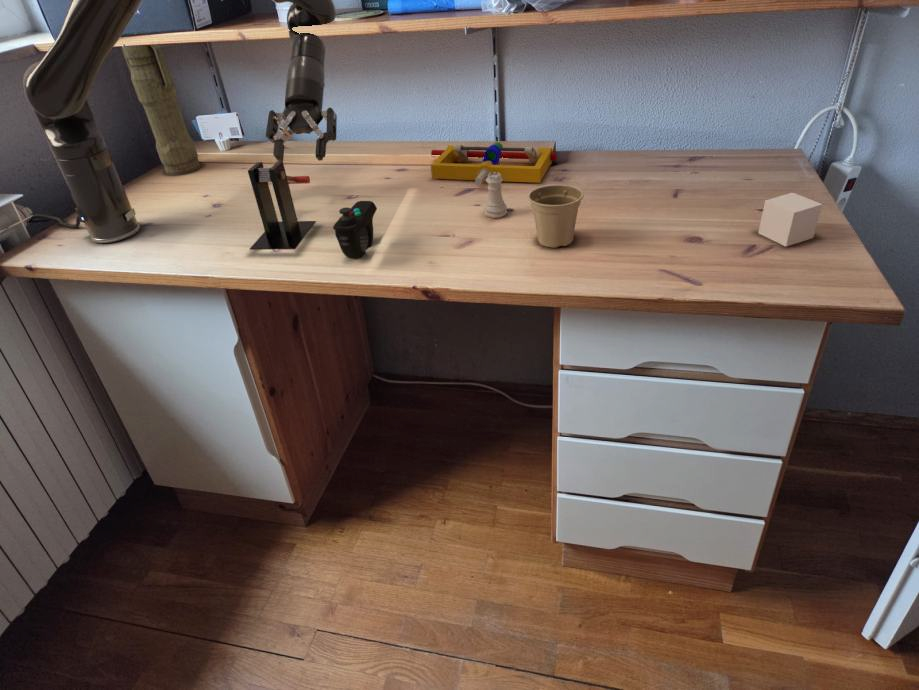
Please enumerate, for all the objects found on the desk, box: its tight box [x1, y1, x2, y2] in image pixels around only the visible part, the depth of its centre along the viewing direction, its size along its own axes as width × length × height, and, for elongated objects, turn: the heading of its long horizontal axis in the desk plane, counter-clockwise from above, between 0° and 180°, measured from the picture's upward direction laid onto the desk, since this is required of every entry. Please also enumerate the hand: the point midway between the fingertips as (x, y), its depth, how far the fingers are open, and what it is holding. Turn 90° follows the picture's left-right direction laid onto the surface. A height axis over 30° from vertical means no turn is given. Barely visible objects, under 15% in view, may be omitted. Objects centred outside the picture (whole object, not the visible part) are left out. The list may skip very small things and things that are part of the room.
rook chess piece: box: [484, 172, 508, 219], centre depth 121 cm, size 4×4×8 cm
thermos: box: [120, 43, 201, 176], centre depth 152 cm, size 9×12×35 cm
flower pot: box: [527, 184, 585, 249], centre depth 109 cm, size 9×9×9 cm
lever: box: [258, 167, 311, 185], centre depth 119 cm, size 14×6×2 cm, turn 172°
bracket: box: [247, 160, 317, 251], centre depth 117 cm, size 12×9×15 cm
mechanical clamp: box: [430, 141, 558, 186], centre depth 139 cm, size 18×6×30 cm
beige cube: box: [757, 192, 823, 248], centre depth 104 cm, size 6×6×6 cm
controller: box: [332, 200, 378, 259], centre depth 111 cm, size 4×12×10 cm, turn 167°
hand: (299, 159), depth 127 cm, fingers open, 8 cm apart
